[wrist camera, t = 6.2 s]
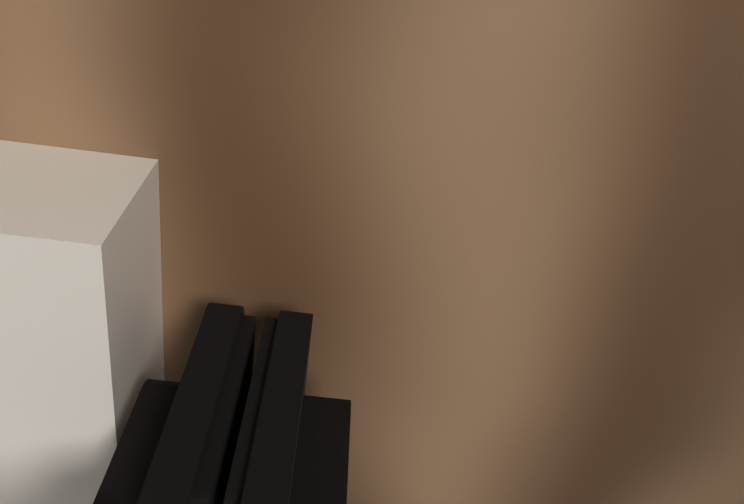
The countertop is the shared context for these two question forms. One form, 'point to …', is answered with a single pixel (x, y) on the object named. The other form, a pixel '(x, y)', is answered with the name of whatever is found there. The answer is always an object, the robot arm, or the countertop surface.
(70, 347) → the tile
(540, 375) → the board
